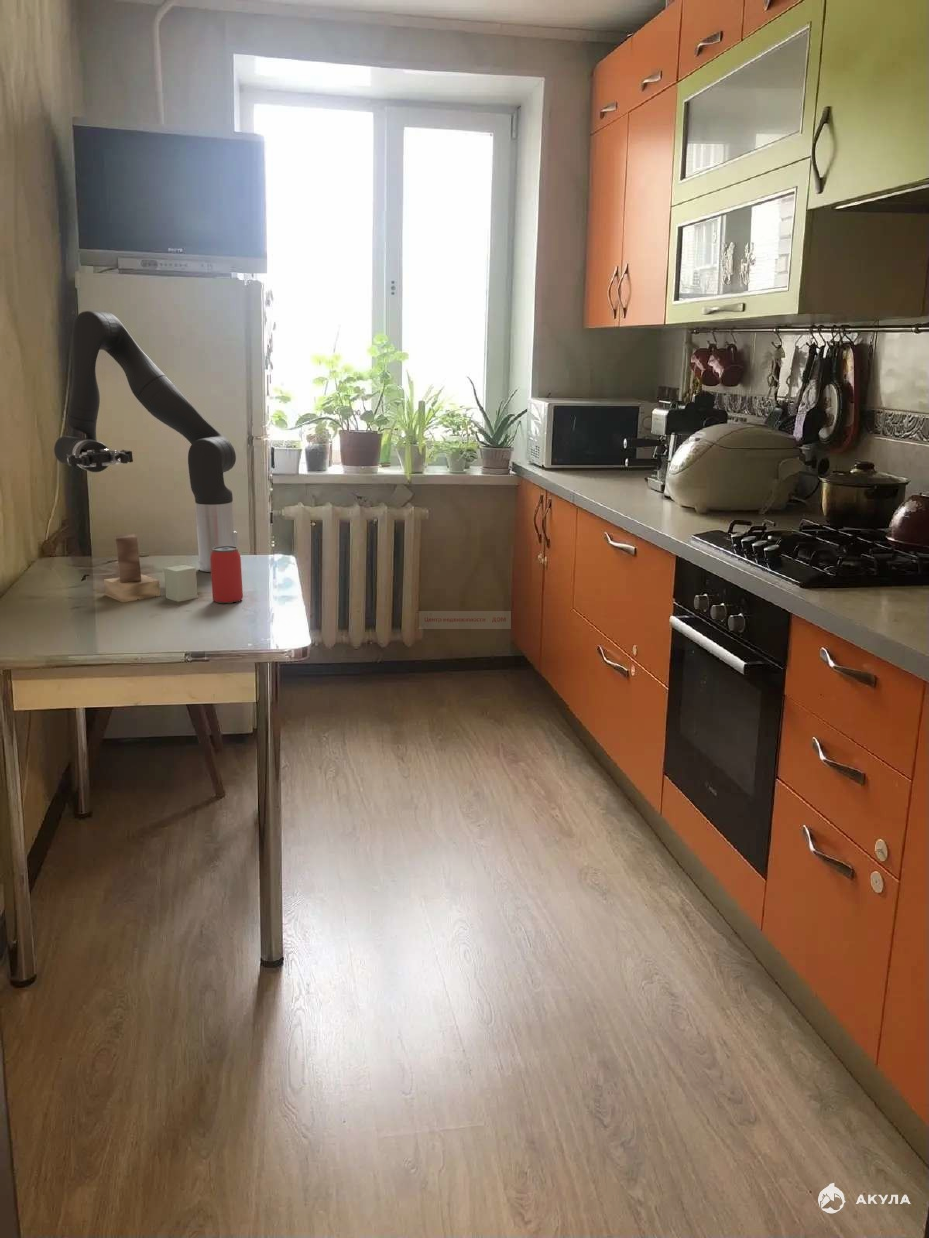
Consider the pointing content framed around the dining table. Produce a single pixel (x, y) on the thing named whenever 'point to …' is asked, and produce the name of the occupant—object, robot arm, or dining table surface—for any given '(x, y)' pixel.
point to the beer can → (226, 574)
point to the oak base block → (132, 589)
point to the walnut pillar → (128, 558)
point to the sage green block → (180, 582)
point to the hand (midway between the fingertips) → (107, 460)
